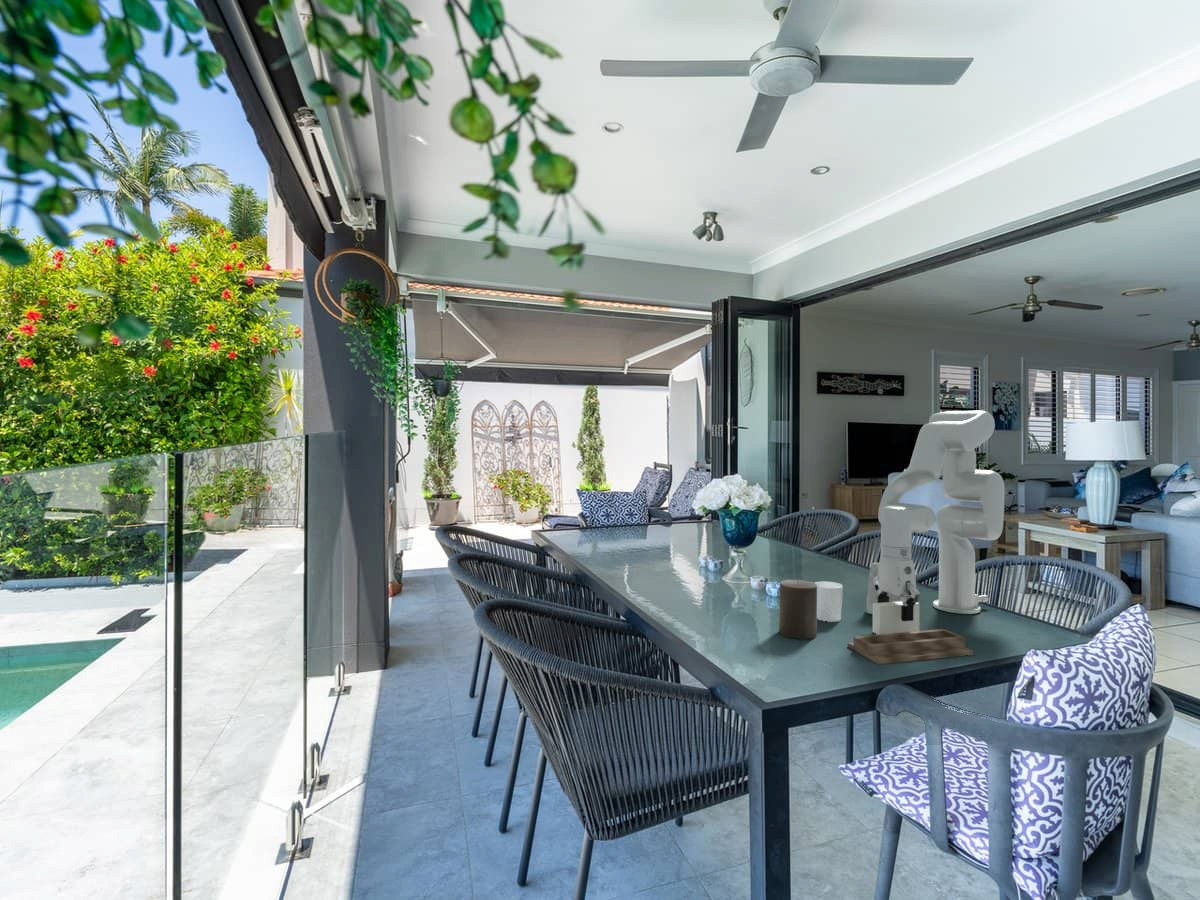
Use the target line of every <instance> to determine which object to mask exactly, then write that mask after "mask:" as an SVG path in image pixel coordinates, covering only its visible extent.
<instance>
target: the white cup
mask: <svg viewBox="0 0 1200 900" xmlns="http://www.w3.org/2000/svg"><path fill="white" fill-rule="evenodd" d="M814 583H815V584H817V621H821V620H822V621H821V622H825V621H827V623H836V622H840V621H841V618H842V605H843V592H844V591H843V587H844V586H843V584H842V583H839V582H836V581H834V582H833V581H828V580H827V581H826V580H825V581H815V582H814Z"/></svg>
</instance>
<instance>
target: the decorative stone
mask: <svg viewBox="0 0 1200 900" xmlns="http://www.w3.org/2000/svg"><path fill="white" fill-rule="evenodd" d="M878 569H879V562H872V563H871V564H870V567H869V575H868V582H867V583H868V585H867V592H866V593H867V595H866V613H867V614H870V615H873V603H878V596H877V594H876V592H877V591H876V589H875V584H874V580H873V578H874V577H876V576H878ZM887 596H889V602H898V601H901V599H900V597H897V596H894V595H892V594H889V593H888V595H887Z"/></svg>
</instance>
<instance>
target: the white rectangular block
mask: <svg viewBox="0 0 1200 900" xmlns="http://www.w3.org/2000/svg"><path fill="white" fill-rule="evenodd" d="M901 606H903V603H902V601H898V602H885V603H873V614H872V633H873V632H874V633H873V634H875V633H876V634H875V635H877V634H878V635H879V634H891V633H902V632H914V631H920V602H918V601H917V602H916V603H915V606H914V610H913V621H902V620H901Z"/></svg>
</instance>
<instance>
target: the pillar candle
mask: <svg viewBox="0 0 1200 900" xmlns="http://www.w3.org/2000/svg"><path fill="white" fill-rule="evenodd" d="M778 619H779V624H778V625H779V626H778V631H779V634H780V635H782V636H784V637H786V638H790V639H794V638H795V639H794V640H801V639H805V640H810V639H815V638H817V637H818V636H817V635H818V633H817V632H818V630H817V629H818V619H817V584H815V582H812V581H808V580H803V579H802V580H801V579H798V578H797V579H784V580H782V581H780V582H779V618H778Z"/></svg>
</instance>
